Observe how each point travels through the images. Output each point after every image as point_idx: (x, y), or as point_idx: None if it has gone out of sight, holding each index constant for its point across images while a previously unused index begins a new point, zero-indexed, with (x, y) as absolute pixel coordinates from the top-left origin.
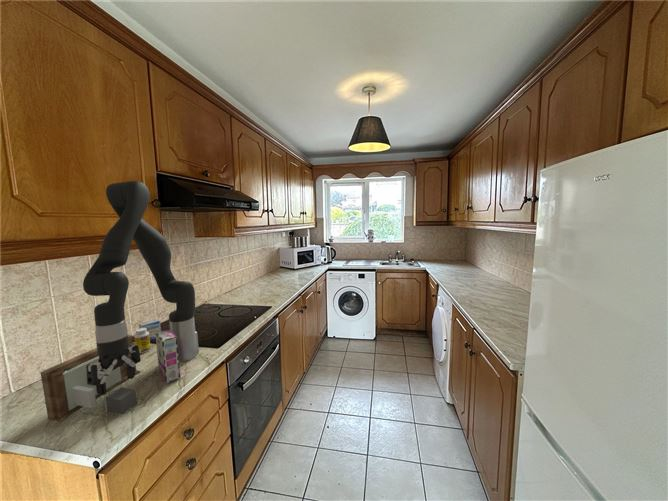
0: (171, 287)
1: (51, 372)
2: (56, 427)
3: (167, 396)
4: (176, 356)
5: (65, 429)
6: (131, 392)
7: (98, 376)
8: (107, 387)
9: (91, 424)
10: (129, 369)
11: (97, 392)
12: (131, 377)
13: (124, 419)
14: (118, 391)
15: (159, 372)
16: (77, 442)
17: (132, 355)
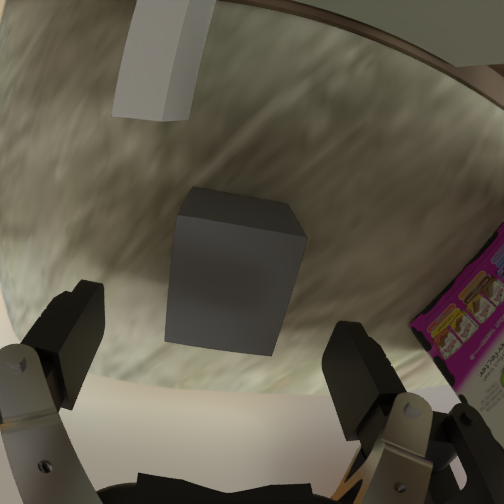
0: None
1: None
2: (71, 34)
3: (311, 384)
4: None
5: (59, 95)
6: (242, 351)
7: (12, 416)
8: (388, 29)
9: (98, 194)
10: (354, 410)
11: (52, 306)
12: (325, 365)
13: (153, 322)
14: (250, 260)
15: (501, 225)
16: (20, 237)
17: (462, 492)
